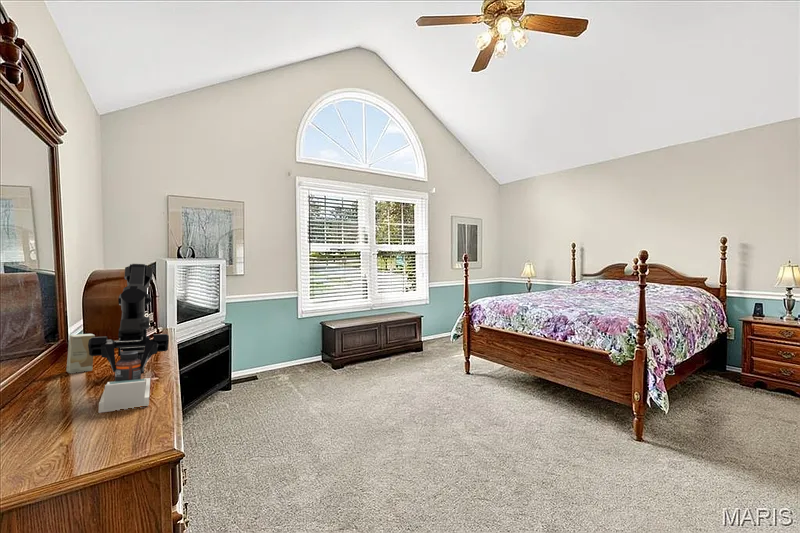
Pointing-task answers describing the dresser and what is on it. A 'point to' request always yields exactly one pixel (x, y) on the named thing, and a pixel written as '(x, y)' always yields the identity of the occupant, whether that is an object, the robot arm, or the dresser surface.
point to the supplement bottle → (128, 367)
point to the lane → (125, 395)
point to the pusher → (126, 381)
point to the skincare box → (79, 353)
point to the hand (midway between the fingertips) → (128, 370)
